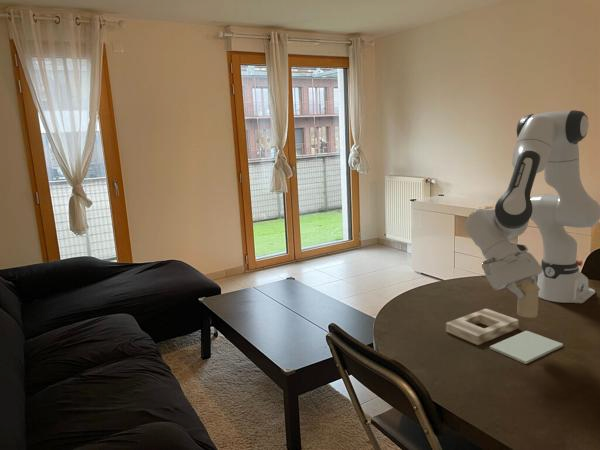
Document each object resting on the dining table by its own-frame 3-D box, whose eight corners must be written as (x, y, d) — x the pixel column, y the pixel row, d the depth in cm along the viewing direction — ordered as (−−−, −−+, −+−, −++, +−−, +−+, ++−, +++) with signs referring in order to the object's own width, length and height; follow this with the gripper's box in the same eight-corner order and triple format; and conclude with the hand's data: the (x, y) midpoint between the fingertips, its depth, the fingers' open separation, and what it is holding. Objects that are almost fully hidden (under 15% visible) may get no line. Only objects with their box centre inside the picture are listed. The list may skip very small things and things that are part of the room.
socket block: (485, 316, 165) (485, 308, 165) (518, 328, 154) (518, 319, 154) (445, 331, 156) (445, 322, 155) (477, 345, 145) (477, 336, 144)
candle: (540, 318, 136) (541, 285, 134) (519, 317, 137) (520, 285, 135) (534, 310, 141) (535, 279, 139) (515, 310, 143) (516, 279, 141)
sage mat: (526, 332, 151) (526, 330, 151) (562, 346, 141) (563, 343, 141) (489, 348, 142) (489, 346, 142) (525, 364, 132) (525, 361, 132)
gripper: (485, 256, 136) (514, 297, 130) (528, 244, 146) (557, 281, 140) (473, 267, 141) (500, 307, 135) (515, 255, 151) (543, 291, 145)
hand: (530, 294), depth 138 cm, fingers closed on candle, 5 cm apart
